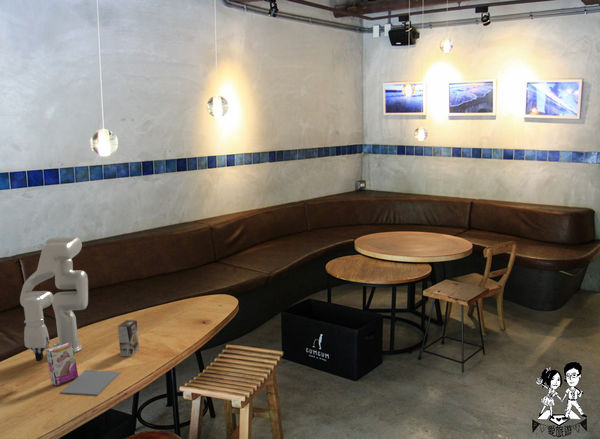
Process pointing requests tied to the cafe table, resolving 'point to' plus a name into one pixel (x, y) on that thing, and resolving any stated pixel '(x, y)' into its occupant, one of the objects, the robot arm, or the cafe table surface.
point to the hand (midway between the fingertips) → (39, 360)
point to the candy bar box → (62, 363)
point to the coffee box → (128, 338)
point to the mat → (91, 382)
